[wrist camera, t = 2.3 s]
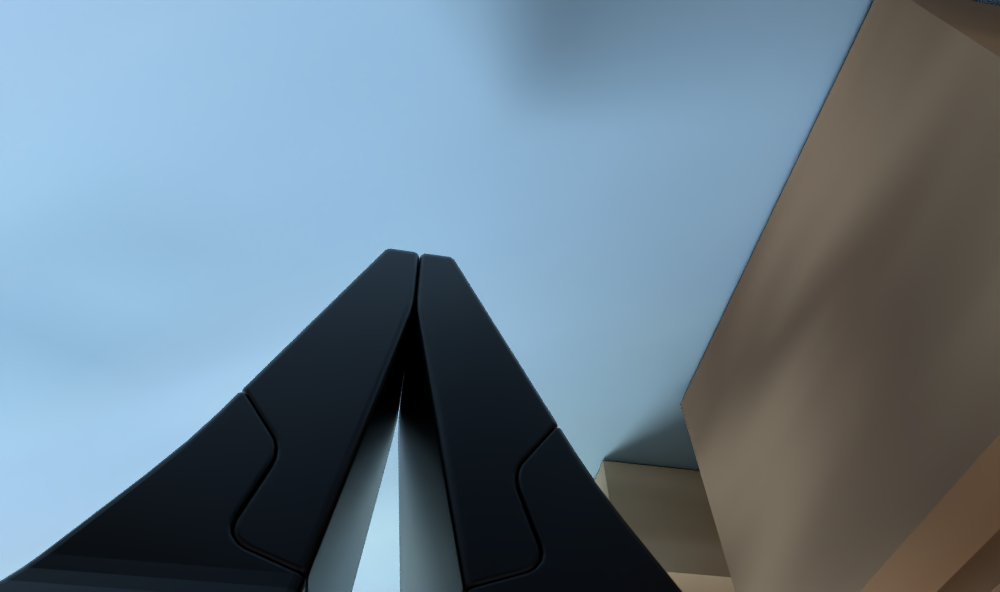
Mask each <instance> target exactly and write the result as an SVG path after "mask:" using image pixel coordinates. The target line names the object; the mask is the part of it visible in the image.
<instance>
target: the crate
mask: <svg viewBox="0 0 1000 592" xmlns="http://www.w3.org/2000/svg"><path fill="white" fill-rule="evenodd" d="M680 405H681V409H682V412H683V415H684V419H685V422H686V426H687V429H688V432H689V436H690V439H691V443H692V446H693V449H694V453H695V456H696V460H697V463H698V466H699V470H700V473H701V477H702V480H703V484H704V487H705V490H706V494H707V497H708V501H709V504H710V507H711V511H712V514H713V518H714V521H715V524H716V528H717V531H718V535H719V538H720V542H721V545H722V548H723V552H724V555H725V559H726V562H727V565H728V569H729V572H730V576H731V579H732V582H733V586H734V589H735V592H1000V6H998V5H993V4H988V3H983V2H978V1H973V0H874V1H873V3H872V6H871V8H870V10H869V12H868V14H867V16H866V18H865V20H864V22H863V24H862V26H861V28H860V31H859V33H858V35H857V37H856V39H855V41H854V43H853V45H852V47H851V49H850V51H849V54H848V56H847V58H846V60H845V62H844V64H843V66H842V68H841V70H840V72H839V74H838V76H837V79H836V81H835V83H834V85H833V87H832V89H831V91H830V93H829V95H828V97H827V99H826V101H825V104H824V106H823V108H822V110H821V112H820V114H819V116H818V118H817V120H816V122H815V124H814V126H813V129H812V131H811V133H810V135H809V137H808V139H807V141H806V143H805V145H804V147H803V149H802V151H801V154H800V156H799V158H798V160H797V162H796V164H795V166H794V168H793V170H792V172H791V174H790V176H789V179H788V181H787V183H786V185H785V187H784V189H783V191H782V193H781V195H780V197H779V199H778V202H777V204H776V206H775V208H774V210H773V212H772V214H771V216H770V218H769V220H768V222H767V224H766V227H765V229H764V231H763V233H762V235H761V237H760V239H759V241H758V243H757V245H756V247H755V249H754V252H753V254H752V256H751V258H750V260H749V262H748V264H747V266H746V268H745V270H744V272H743V274H742V277H741V279H740V281H739V283H738V285H737V287H736V289H735V291H734V293H733V295H732V297H731V299H730V302H729V304H728V306H727V308H726V310H725V312H724V314H723V316H722V318H721V320H720V322H719V324H718V327H717V329H716V331H715V333H714V335H713V337H712V339H711V341H710V343H709V345H708V347H707V350H706V352H705V354H704V356H703V358H702V360H701V362H700V364H699V366H698V368H697V370H696V372H695V375H694V377H693V379H692V381H691V383H690V385H689V387H688V389H687V391H686V393H685V395H684V397H683V400H682V402H681V404H680Z"/></svg>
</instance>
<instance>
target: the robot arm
mask: <svg viewBox="0 0 1000 592" xmlns="http://www.w3.org/2000/svg"><path fill="white" fill-rule="evenodd" d="M401 391H402V393H401ZM400 398H401V401H400ZM399 405H400V410H399ZM398 411H399V425H398V459H399V537H400V592H682V590H681V589H680V588H679V587H678V585H677V584H676V583H675V582H674V581H673V579H672V578H671V577H670V576H669V574H668V573H667V572H666V571H665V569H664V568H663V567H662V566H661V564H660V563H659V562H658V561H657V560H656V558H655V557H654V556H653V555H652V553H651V552H650V551H649V550H648V548H647V547H646V546H645V545H644V544H643V542H642V541H641V540H640V539H639V537H638V536H637V535H636V534H635V532H634V531H633V530H632V529H631V527H630V526H629V525H628V524H627V523H626V521H625V520H624V519H623V517H622V516H621V515H620V514H619V512H618V511H617V510H616V508H615V507H614V506H613V504H612V503H611V502H610V500H609V499H608V498H607V497H606V495H605V494H604V493H603V491H602V490H601V489H600V487H599V486H598V485H597V484H596V482H595V481H594V479H593V478H592V476H591V475H590V473H589V472H588V470H587V469H586V467H585V466H584V464H583V463H582V461H581V460H580V458H579V457H578V455H577V454H576V452H575V451H574V449H573V448H572V446H571V445H570V443H569V442H568V440H567V438H566V437H565V435H564V433H563V432H562V430H561V429H560V428H557V423H556V421H555V420H554V418H553V416H552V415H551V413H550V412H549V410H548V408H547V407H546V405H545V404H544V402H543V400H542V399H541V397H540V396H539V394H538V393H537V391H536V389H535V388H534V386H533V385H532V383H531V381H530V380H529V378H528V377H527V375H526V373H525V372H524V370H523V369H522V367H521V365H520V364H519V362H518V361H517V359H516V358H515V356H514V354H513V353H512V351H511V350H510V348H509V346H508V345H507V343H506V342H505V340H504V338H503V337H502V335H501V334H500V332H499V330H498V329H497V327H496V326H495V324H494V323H493V321H492V319H491V318H490V316H489V315H488V313H487V311H486V310H485V308H484V307H483V305H482V303H481V302H480V300H479V299H478V297H477V295H476V294H475V292H474V291H473V289H472V287H471V286H470V284H469V283H468V281H467V280H466V278H465V276H464V275H463V273H462V272H461V270H460V268H459V267H458V265H457V264H456V262H455V261H454V259H452V258H451V257H446V256H439V255H431V254H423V255H421V257H420V259H419V256H418V254H417V253H415V252H410V251H403V250H396V249H387V250H385V251H384V252H383V253H382V254H381V255H380V256H379V257H378V258H377V259H376V260H375V261H374V262H373V263H372V264H371V265H370V266H369V267H368V268H367V269H366V270H365V271H363V272H362V273H361V274H360V275H359V276H358V277H357V278H356V279H355V280H354V281H353V282H352V283H351V284H350V285H349V286H348V287H347V288H346V289H345V290H344V291H343V292H342V293H341V294H340V295H339V296H338V297H337V298H336V299H335V300H334V301H333V302H332V303H331V304H330V305H329V306H328V307H327V308H326V309H325V310H324V311H322V312H321V313H320V314H319V315H318V316H317V317H316V318H315V319H314V320H313V321H312V322H311V323H310V324H309V325H308V326H307V327H306V328H305V329H304V330H303V331H302V332H301V333H300V334H299V335H298V336H297V337H296V338H295V339H294V340H293V341H292V342H291V343H290V344H289V345H288V346H287V347H286V348H285V349H284V350H282V351H281V352H280V353H279V354H278V355H277V356H276V357H275V358H274V359H273V360H272V361H271V362H270V363H269V364H268V365H267V366H266V367H265V368H264V369H263V370H262V371H261V372H260V373H259V374H258V375H257V376H256V377H255V378H254V379H253V380H252V381H251V382H250V383H249V384H248V385H247V386H246V387H245V388H244V389H243V391H242V392H241V393H238V394H237V395H236V396H235V397H234V398H233V399H232V400H231V401H230V402H229V403H228V404H227V405H226V406H225V407H224V408H223V409H222V410H221V411H220V412H219V413H217V414H216V415H215V416H214V417H213V418H212V419H211V420H210V421H209V422H208V423H207V424H205V425H204V426H203V427H202V428H201V429H200V430H199V431H198V432H197V433H196V434H194V435H193V436H192V437H191V438H190V439H189V440H188V441H187V442H185V443H184V444H183V445H182V446H180V447H179V448H178V449H177V450H175V451H174V452H173V453H172V454H171V455H169V456H168V457H167V458H166V459H164V460H163V461H162V462H161V463H159V464H158V465H157V466H156V467H154V468H153V469H152V470H151V471H149V472H148V473H147V474H146V475H144V476H143V477H142V478H140V479H139V480H138V481H136V482H135V483H134V484H133V485H131V486H130V487H129V488H127V489H126V490H125V491H123V492H122V493H121V494H119V495H118V496H117V497H115V498H114V499H113V500H112V501H110V502H109V503H108V504H106V505H105V506H104V507H102V508H101V509H100V510H98V511H97V512H96V513H95V514H93V515H92V516H91V517H89V518H88V519H87V520H85V521H84V522H83V523H81V524H80V525H79V526H77V527H76V528H75V529H74V530H72V531H71V532H70V533H68V534H67V535H66V536H64V537H63V538H62V539H60V540H59V541H58V542H57V543H55V544H54V545H53V546H51V547H50V548H49V549H47V550H46V551H45V552H43V553H42V554H41V555H39V556H38V557H36V558H35V559H34V560H32V561H31V562H29V563H28V564H27V565H25V566H24V567H22V568H21V569H19V570H18V571H16V572H14V573H13V574H11V575H9V576H8V577H6V578H5V579H3V580H1V581H0V592H352V589H353V585H354V581H355V578H356V574H357V570H358V566H359V563H360V559H361V555H362V551H363V548H364V544H365V540H366V537H367V533H368V529H369V525H370V522H371V518H372V514H373V510H374V507H375V503H376V499H377V495H378V492H379V488H380V484H381V481H382V477H383V473H384V469H385V466H386V462H387V458H388V454H389V451H390V447H391V443H392V439H393V435H394V431H395V427H396V423H397V417H398Z"/></svg>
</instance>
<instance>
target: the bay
mask: <svg viewBox="0 0 1000 592" xmlns="http://www.w3.org/2000/svg"><path fill="white" fill-rule="evenodd" d="M595 482H596V484H597V485H598V486H599V487H600V489H601V490H602V491H603V493H604V494H605V495H606V497H607V498H608V499H609V500H610V502H611V503H612V504H613V506H614V507H615V508H616V510H617V511H618V512H619V514H620V515H621V516H622V517H623V519H624V520H625V521H626V523H627V524H628V525H629V526H630V527H631V529H632V530H633V531H634V532H635V534H636V535H637V536H638V537H639V539H640V540H641V541H642V542H643V544H644V545H645V546H646V547H647V548H648V550H649V551H650V552H651V553H652V555H653V556H654V557H655V558H656V560H657V561H658V562H659V563H660V564H661V566H662V567H663V568H664V569H665V571H666V572H667V573H668V574H669V576H670V577H671V578H672V579H673V581H674V582H675V583H676V584H677V585H678V587H679V588H680V589H681V590H682V592H735V589H734V586H733V582H732V579H731V576H730V572H729V569H728V565H727V562H726V559H725V555H724V552H723V548H722V545H721V542H720V538H719V535H718V531H717V528H716V524H715V521H714V518H713V514H712V511H711V507H710V504H709V501H708V497H707V494H706V490H705V487H704V484H703V480H702V477H701V473H700V471H694V470H685V469H675V468H666V467H657V466H647V465H638V464H629V463H619V462H610V461H603V462H602V464H601V466H600V469H599V471H598V474H597V476H596V479H595Z"/></svg>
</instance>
